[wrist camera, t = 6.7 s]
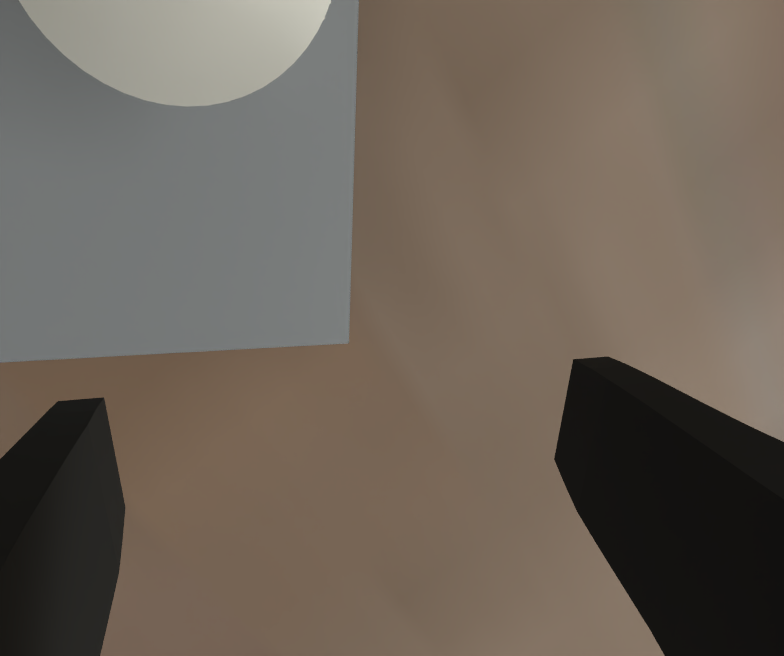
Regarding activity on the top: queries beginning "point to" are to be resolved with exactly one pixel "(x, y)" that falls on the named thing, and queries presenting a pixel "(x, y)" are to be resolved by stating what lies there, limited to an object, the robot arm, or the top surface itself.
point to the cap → (180, 43)
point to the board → (173, 206)
